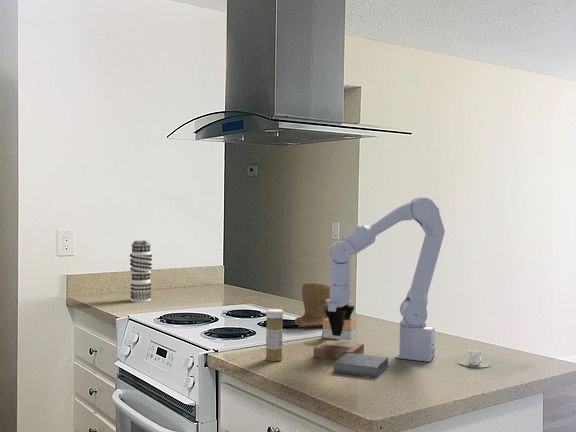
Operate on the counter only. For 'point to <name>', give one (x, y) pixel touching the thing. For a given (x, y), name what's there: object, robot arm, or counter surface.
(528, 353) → the counter surface
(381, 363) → the stand
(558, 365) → the counter surface
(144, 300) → the decorative candle
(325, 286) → the tan boot
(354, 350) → the stand
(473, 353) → the teacup and saucer
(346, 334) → the block
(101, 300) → the counter surface
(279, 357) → the sprinkles bottle
